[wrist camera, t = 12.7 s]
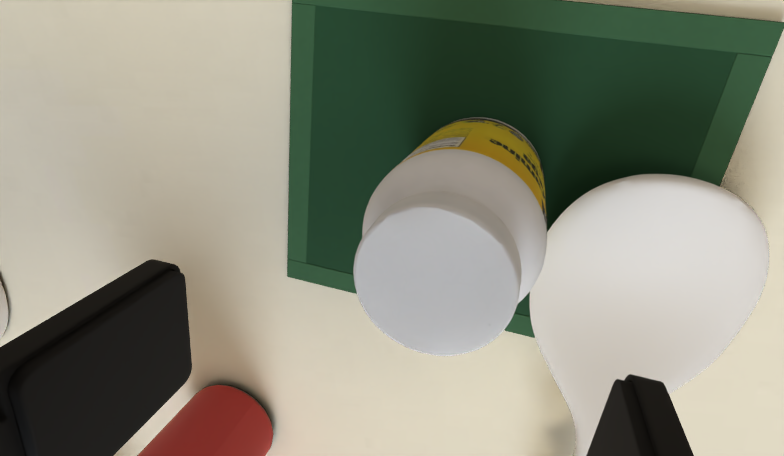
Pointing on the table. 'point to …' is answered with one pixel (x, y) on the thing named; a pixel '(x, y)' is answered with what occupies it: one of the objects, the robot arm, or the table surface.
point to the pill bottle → (454, 238)
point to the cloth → (505, 101)
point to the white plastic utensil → (644, 287)
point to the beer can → (215, 426)
